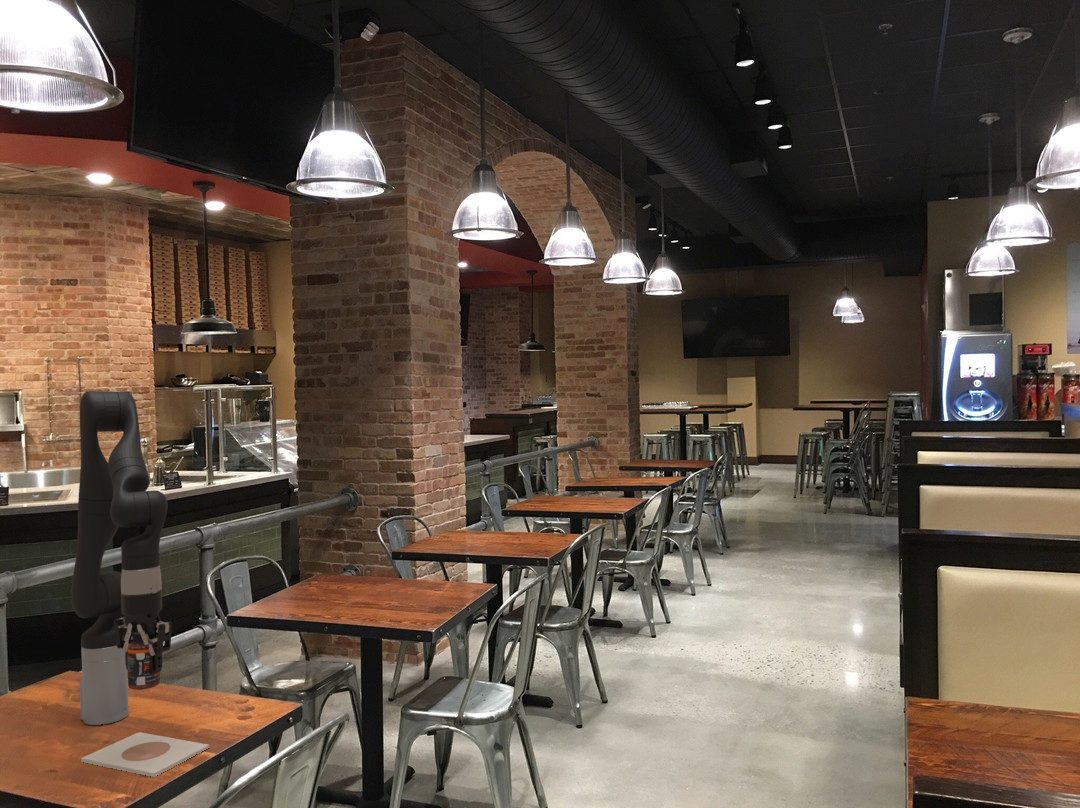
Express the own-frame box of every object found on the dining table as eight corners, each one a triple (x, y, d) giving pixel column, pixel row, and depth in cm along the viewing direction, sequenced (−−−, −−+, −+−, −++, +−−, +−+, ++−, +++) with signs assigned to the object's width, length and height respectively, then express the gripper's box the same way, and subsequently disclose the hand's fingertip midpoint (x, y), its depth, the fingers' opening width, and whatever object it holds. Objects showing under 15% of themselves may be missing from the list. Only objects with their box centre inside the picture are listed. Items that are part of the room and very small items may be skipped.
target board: (81, 762, 168) (81, 757, 168) (139, 735, 181) (138, 731, 181) (154, 777, 161) (154, 772, 161) (209, 748, 173) (209, 744, 173)
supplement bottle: (147, 691, 167) (146, 635, 167) (121, 690, 169) (119, 634, 169) (166, 681, 173) (165, 627, 173) (141, 680, 174) (139, 626, 174)
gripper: (100, 590, 170) (102, 673, 170) (152, 595, 165) (155, 680, 165) (131, 583, 177) (133, 662, 177) (182, 587, 171) (184, 669, 172)
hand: (143, 670), depth 171 cm, fingers closed on supplement bottle, 6 cm apart
